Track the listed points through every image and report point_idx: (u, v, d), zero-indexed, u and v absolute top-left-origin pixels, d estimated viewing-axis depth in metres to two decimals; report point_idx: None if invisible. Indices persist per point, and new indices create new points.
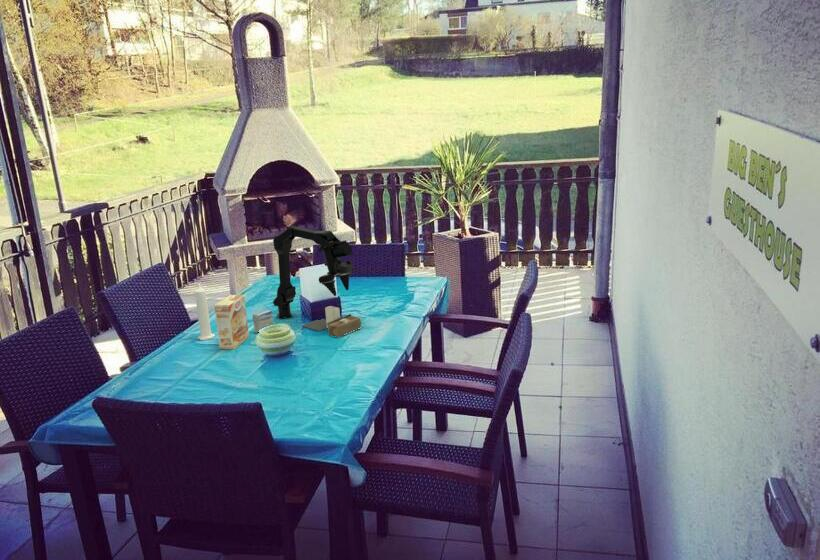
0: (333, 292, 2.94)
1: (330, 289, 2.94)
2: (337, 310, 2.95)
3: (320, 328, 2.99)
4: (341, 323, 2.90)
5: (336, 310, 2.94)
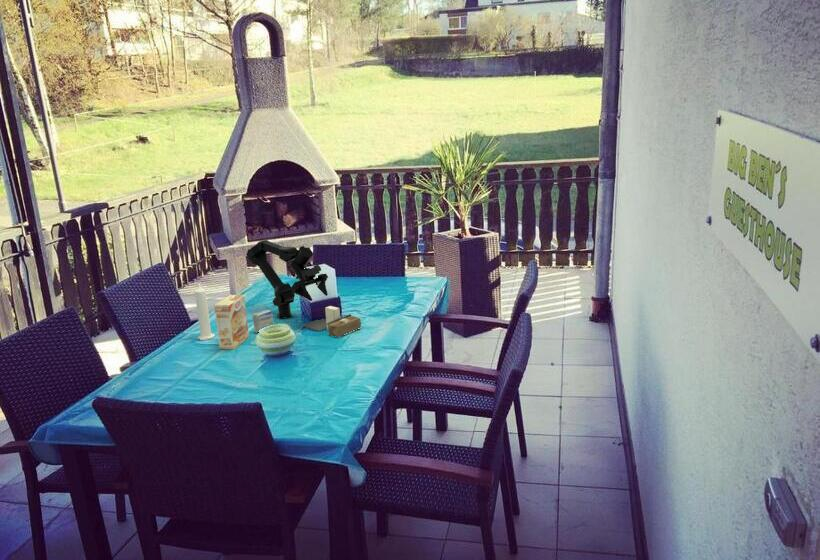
0: (308, 297, 2.97)
1: (305, 296, 2.97)
2: (337, 310, 2.95)
3: (320, 328, 2.99)
4: (341, 323, 2.90)
5: (336, 310, 2.94)
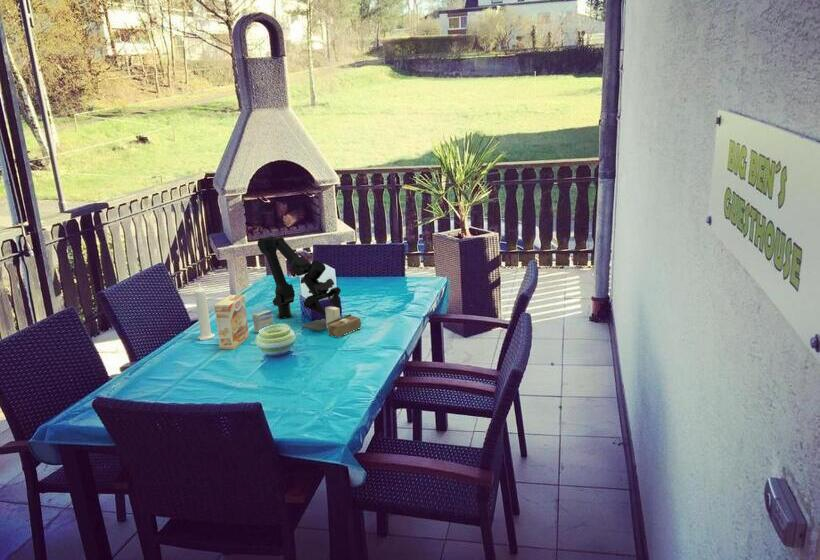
0: (321, 312, 2.93)
1: (318, 310, 2.94)
2: (337, 310, 2.95)
3: (320, 328, 2.99)
4: (341, 323, 2.90)
5: (336, 310, 2.94)
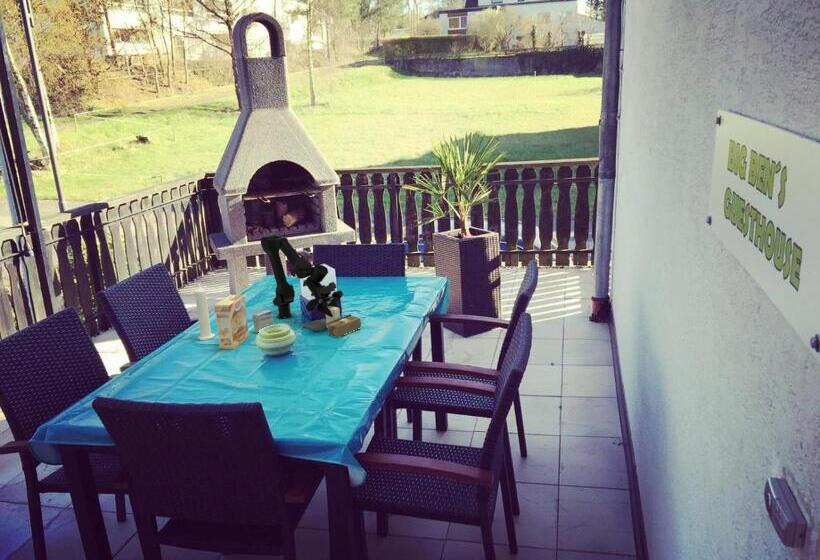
0: (329, 314, 2.95)
1: (325, 312, 2.95)
2: (337, 310, 2.95)
3: (320, 328, 2.99)
4: (341, 323, 2.90)
5: (336, 310, 2.94)
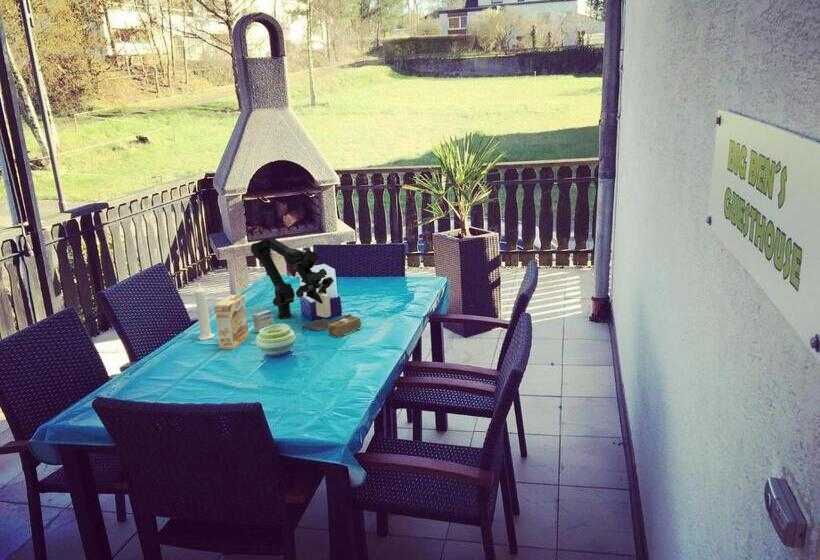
0: (318, 300, 2.97)
1: (315, 298, 2.97)
2: (327, 297, 2.97)
3: (320, 328, 2.99)
4: (341, 323, 2.90)
5: (326, 296, 2.96)
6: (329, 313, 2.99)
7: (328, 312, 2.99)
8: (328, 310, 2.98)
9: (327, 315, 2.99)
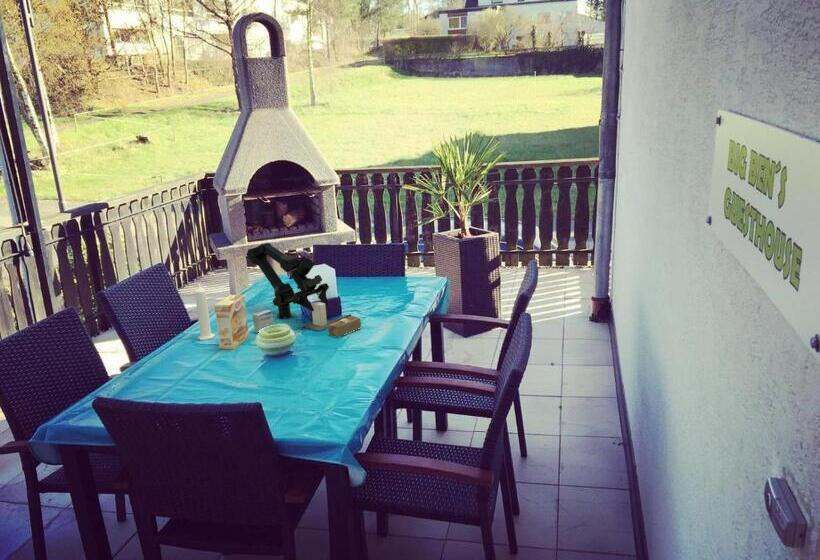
0: (310, 308, 2.98)
1: (306, 306, 2.98)
2: (323, 306, 3.00)
3: (320, 328, 2.99)
4: (341, 323, 2.90)
5: (322, 305, 2.99)
6: (325, 322, 3.02)
7: (324, 321, 3.02)
8: (324, 319, 3.02)
9: (323, 324, 3.02)
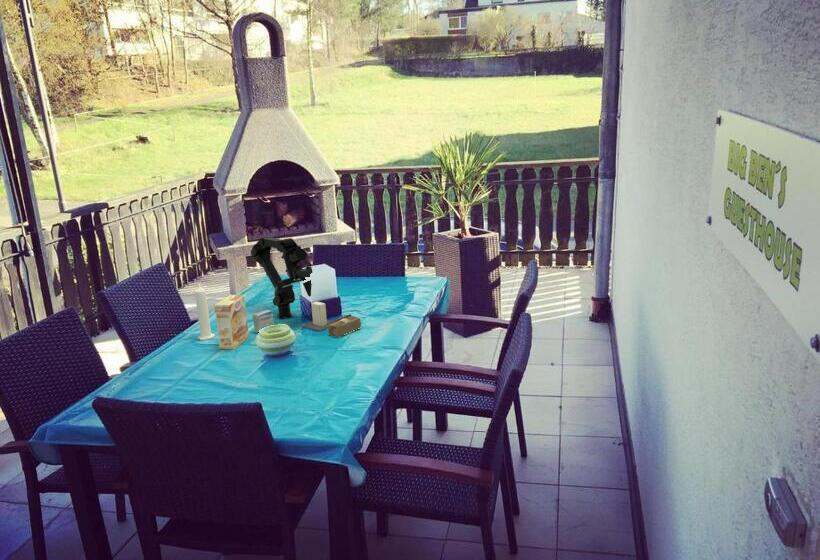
0: (292, 297, 3.00)
1: (289, 294, 3.00)
2: (323, 306, 3.00)
3: (320, 328, 2.99)
4: (341, 323, 2.90)
5: (322, 305, 2.99)
6: (325, 322, 3.02)
7: (324, 321, 3.02)
8: (324, 319, 3.02)
9: (323, 324, 3.02)
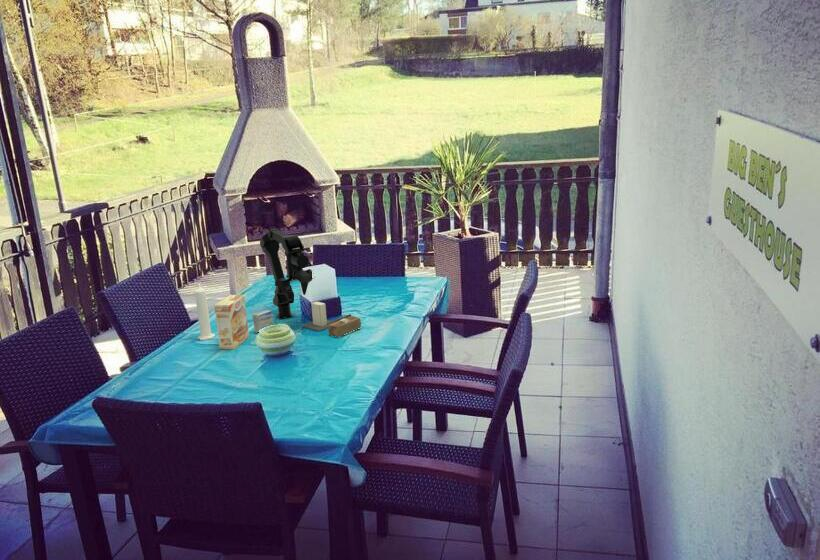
0: (287, 296, 2.99)
1: (284, 293, 2.99)
2: (323, 306, 3.00)
3: (320, 328, 2.99)
4: (341, 323, 2.90)
5: (322, 305, 2.99)
6: (325, 322, 3.02)
7: (324, 321, 3.02)
8: (324, 319, 3.02)
9: (323, 324, 3.02)
